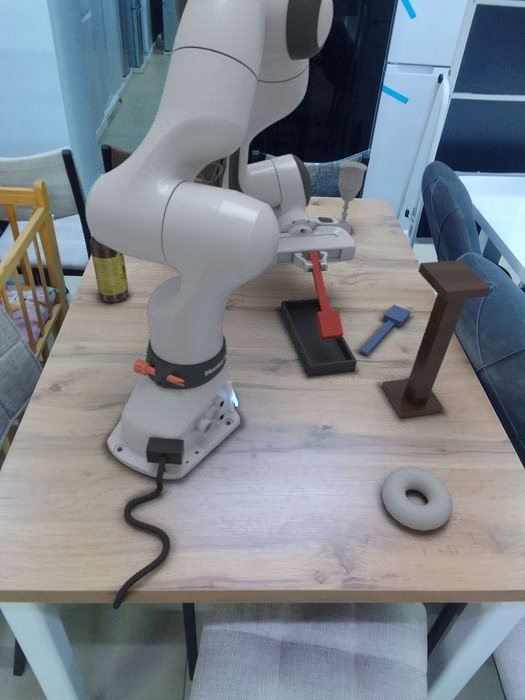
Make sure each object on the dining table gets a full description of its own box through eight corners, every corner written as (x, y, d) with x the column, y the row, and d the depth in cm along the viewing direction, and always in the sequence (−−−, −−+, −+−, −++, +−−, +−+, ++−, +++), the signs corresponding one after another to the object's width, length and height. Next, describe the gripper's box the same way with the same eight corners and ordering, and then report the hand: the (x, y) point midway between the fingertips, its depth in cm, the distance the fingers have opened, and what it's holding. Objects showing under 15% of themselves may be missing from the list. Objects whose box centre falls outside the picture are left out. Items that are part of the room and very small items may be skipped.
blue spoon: (392, 310, 112) (393, 304, 111) (408, 317, 110) (410, 311, 109) (354, 350, 100) (355, 344, 99) (372, 358, 99) (373, 352, 98)
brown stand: (381, 386, 93) (417, 263, 76) (420, 381, 95) (464, 259, 78) (400, 418, 87) (443, 292, 70) (441, 412, 89) (493, 287, 72)
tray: (354, 370, 96) (356, 361, 94) (308, 376, 94) (310, 366, 92) (319, 306, 111) (321, 297, 110) (279, 310, 109) (280, 301, 108)
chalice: (326, 233, 139) (336, 168, 127) (331, 223, 144) (341, 159, 132) (352, 238, 137) (365, 172, 126) (356, 227, 142) (369, 164, 131)
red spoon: (341, 337, 94) (343, 334, 92) (320, 340, 93) (323, 336, 91) (321, 253, 99) (323, 248, 98) (301, 254, 99) (303, 250, 97)
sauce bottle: (133, 298, 110) (122, 212, 97) (105, 306, 107) (90, 219, 94) (122, 284, 114) (110, 200, 101) (95, 291, 111) (79, 206, 98)
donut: (457, 535, 71) (436, 475, 78) (465, 522, 68) (443, 461, 76) (387, 535, 70) (373, 474, 78) (393, 522, 68) (378, 461, 75)
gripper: (249, 223, 103) (265, 257, 93) (343, 218, 107) (368, 250, 97) (248, 251, 107) (263, 286, 97) (339, 245, 111) (362, 278, 101)
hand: (316, 268), depth 97 cm, fingers closed on red spoon, 2 cm apart
